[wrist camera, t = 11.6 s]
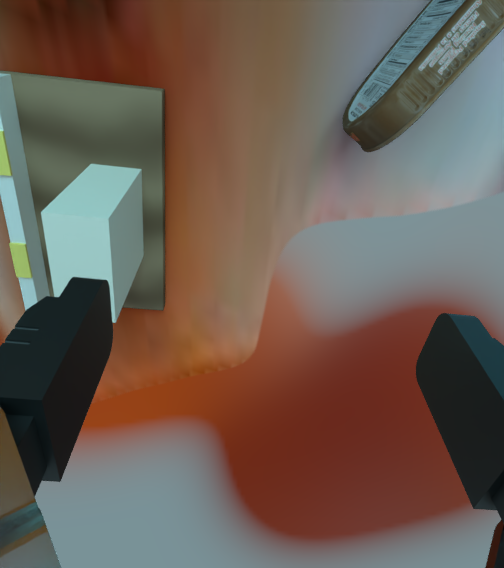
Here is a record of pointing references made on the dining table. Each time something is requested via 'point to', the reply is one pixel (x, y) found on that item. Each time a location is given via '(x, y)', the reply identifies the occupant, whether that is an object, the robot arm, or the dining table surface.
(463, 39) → the tin
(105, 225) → the carton
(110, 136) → the shelf board
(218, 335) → the dining table surface
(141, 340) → the dining table surface
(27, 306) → the rail
